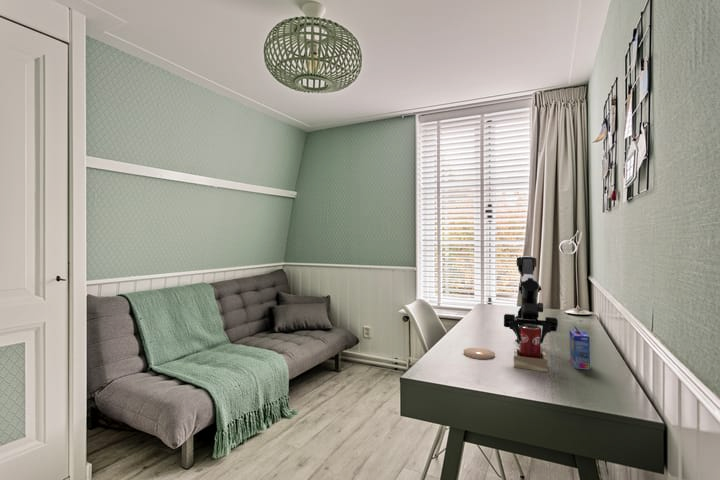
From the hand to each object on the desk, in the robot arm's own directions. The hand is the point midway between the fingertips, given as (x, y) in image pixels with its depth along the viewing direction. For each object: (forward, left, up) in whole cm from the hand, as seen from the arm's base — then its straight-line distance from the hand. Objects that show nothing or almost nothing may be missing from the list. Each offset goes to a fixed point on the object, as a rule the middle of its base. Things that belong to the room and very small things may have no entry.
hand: (530, 341), depth 143 cm
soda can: (-1, -1, -7) cm, 7 cm away
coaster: (+10, -17, -9) cm, 22 cm away
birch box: (-1, -1, -9) cm, 9 cm away
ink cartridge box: (-19, +4, -9) cm, 21 cm away
